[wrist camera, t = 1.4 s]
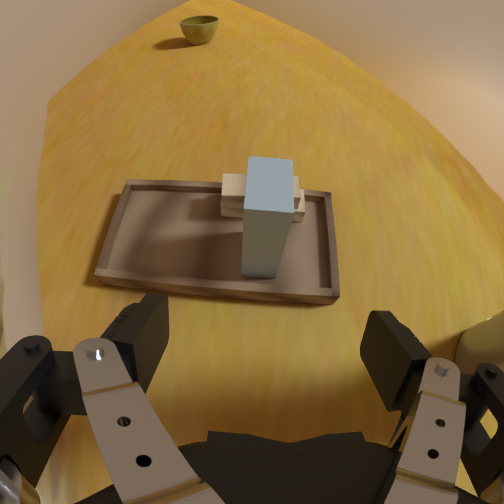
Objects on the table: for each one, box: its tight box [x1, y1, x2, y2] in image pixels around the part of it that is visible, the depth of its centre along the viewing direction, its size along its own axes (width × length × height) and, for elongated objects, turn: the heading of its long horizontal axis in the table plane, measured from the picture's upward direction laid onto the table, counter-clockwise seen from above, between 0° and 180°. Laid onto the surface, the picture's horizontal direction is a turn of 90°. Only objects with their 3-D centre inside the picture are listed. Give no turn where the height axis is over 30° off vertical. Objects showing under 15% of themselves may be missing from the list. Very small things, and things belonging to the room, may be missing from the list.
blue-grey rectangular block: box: [241, 156, 294, 278], centre depth 26 cm, size 3×5×11 cm, turn 176°
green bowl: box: [180, 15, 219, 45], centre depth 59 cm, size 10×10×7 cm
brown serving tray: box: [94, 180, 340, 305], centre depth 32 cm, size 25×13×2 cm, turn 86°
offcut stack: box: [221, 174, 305, 223], centre depth 32 cm, size 9×4×4 cm, turn 86°
